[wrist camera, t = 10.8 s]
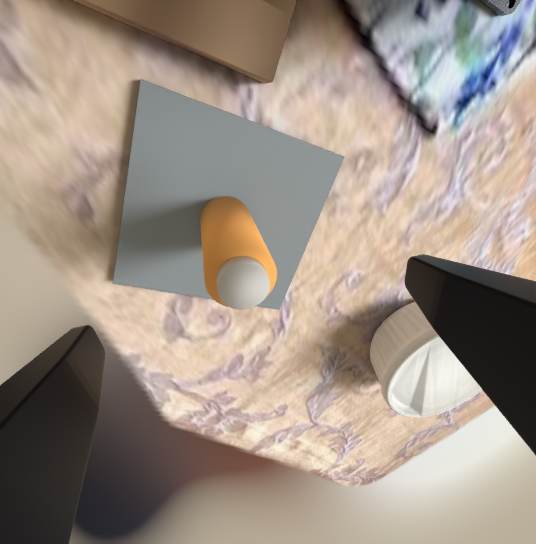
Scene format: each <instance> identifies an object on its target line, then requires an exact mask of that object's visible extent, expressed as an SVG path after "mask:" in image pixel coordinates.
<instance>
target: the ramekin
mask: <svg viewBox="0 0 536 544" xmlns="http://www.w3.org/2000/svg"><path fill="white" fill-rule="evenodd" d="M370 360H371V363H372V366H373V368H374V370H375V373H376V375H377V378H378V380H379V382H380V384H381V389H382V394H383V397H384V399H385V401H386V402H387V404H388V405H389V406H390V408H391V409H392V410H394V411H395V412H397V413H398V414H401V415H404V416H408V417H426V416H431V415H436V414H440V413H443V412H445V411H448V410H450V409H452V408H454V407H457V406H459V405H460V404H462V403H464V402H465V401H467V400H469V399H470V398H472V397H473V396H474V395H476V394H477V393H478V392H480V391H481V390H482V388H481V387H480V386H479V385H478V384H477V382H476V381H475V380H474V379H473V377H472V376H471V375H470V374H469V372H468V371H467V370H466V369H465V368H464V366H463V365H462V364H461V363H460V361H459V360H458V359H457V358H456V356H455V355H454V354H453V353H452V352H451V350H450V349H449V348H448V347H447V345H446V344H445V343H444V342H443V340H442V339H441V338H440V337H439V336H438V334H437V333H436V332H435V330H434V329H433V328H432V326H431V325H430V323H429V322H428V321H427V319H426V317H425V316H424V314H423V313H422V311H421V310H420V308H419V307H418V305H417V304H416V302H412V303H410V304H407V305H405V306H403V307H401V308H400V309H398V310H396V311H395V312H394V313H392V314H391V315H390V316H389V317H387V318H386V319H385V320H384V321H383V322H382V324H381V325H380V326H379V327H378V329H377V330H376V332H375V334H374V336H373V339H372V342H371V346H370Z"/></svg>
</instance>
